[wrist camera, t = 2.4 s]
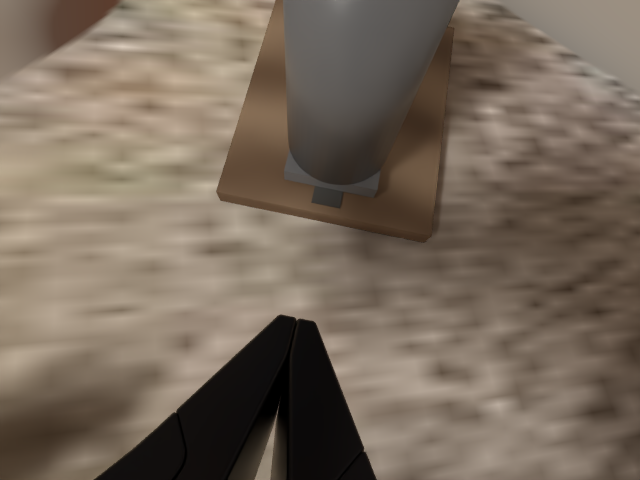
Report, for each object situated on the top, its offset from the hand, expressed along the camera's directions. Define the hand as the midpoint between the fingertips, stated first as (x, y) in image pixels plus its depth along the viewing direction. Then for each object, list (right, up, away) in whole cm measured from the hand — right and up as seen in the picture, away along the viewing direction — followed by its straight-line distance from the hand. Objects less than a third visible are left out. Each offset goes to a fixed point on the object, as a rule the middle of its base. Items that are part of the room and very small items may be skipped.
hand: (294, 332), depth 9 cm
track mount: (+2, +11, +15) cm, 19 cm away
